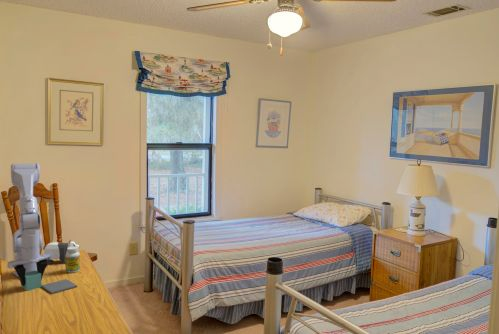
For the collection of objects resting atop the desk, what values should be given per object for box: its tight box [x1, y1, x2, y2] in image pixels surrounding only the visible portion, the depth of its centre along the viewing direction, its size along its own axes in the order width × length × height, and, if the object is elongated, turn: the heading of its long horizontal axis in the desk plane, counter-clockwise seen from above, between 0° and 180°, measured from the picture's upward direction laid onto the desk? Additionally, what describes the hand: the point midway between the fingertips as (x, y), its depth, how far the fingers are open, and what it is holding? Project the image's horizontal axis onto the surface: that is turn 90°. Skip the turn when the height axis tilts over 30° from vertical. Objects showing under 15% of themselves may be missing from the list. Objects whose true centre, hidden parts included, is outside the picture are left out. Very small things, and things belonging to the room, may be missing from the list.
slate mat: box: [40, 278, 78, 295], centre depth 145 cm, size 9×9×1 cm
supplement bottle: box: [65, 247, 81, 274], centre depth 161 cm, size 5×5×10 cm
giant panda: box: [42, 239, 81, 265], centre depth 171 cm, size 15×6×10 cm, turn 105°
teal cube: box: [20, 270, 42, 292], centre depth 144 cm, size 5×5×5 cm
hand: (31, 282), depth 144 cm, fingers closed on teal cube, 5 cm apart
